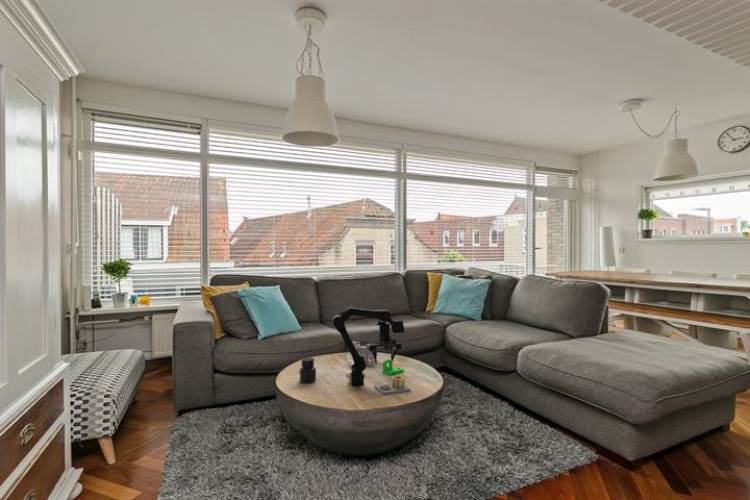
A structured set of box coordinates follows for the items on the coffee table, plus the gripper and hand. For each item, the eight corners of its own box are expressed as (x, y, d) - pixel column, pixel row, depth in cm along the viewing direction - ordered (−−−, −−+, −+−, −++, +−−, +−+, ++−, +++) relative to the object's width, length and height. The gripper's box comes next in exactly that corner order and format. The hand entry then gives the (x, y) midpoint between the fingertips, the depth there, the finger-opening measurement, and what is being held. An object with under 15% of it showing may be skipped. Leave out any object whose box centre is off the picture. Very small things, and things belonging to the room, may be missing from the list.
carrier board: (383, 394, 204) (383, 386, 204) (374, 387, 215) (374, 379, 215) (410, 390, 209) (410, 382, 209) (400, 383, 220) (400, 376, 220)
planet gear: (395, 388, 209) (395, 380, 209) (389, 385, 215) (389, 376, 215) (406, 387, 212) (406, 378, 212) (401, 383, 218) (401, 375, 218)
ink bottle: (307, 377, 232) (307, 355, 231) (319, 379, 227) (319, 358, 227) (295, 382, 223) (295, 360, 223) (308, 384, 219) (308, 362, 219)
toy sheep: (342, 364, 257) (342, 342, 257) (349, 360, 267) (349, 339, 267) (372, 367, 250) (372, 345, 250) (378, 363, 260) (378, 341, 260)
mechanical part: (388, 376, 235) (388, 362, 235) (382, 373, 240) (382, 359, 240) (405, 372, 241) (405, 358, 241) (399, 370, 246) (399, 356, 246)
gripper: (372, 337, 211) (372, 367, 211) (406, 335, 217) (405, 365, 217) (366, 333, 221) (365, 362, 221) (398, 331, 227) (397, 359, 227)
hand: (383, 362), depth 221 cm, fingers open, 9 cm apart
